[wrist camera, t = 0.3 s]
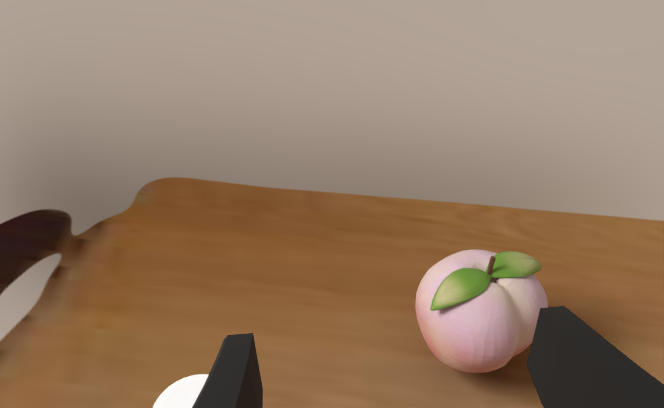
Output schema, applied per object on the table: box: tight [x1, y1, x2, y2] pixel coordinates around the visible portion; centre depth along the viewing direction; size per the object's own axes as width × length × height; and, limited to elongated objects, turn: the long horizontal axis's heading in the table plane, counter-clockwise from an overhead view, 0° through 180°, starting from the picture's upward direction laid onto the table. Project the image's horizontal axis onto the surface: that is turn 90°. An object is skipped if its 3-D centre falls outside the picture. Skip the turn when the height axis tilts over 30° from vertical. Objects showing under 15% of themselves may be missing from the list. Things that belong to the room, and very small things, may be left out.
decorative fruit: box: [416, 250, 548, 373], centre depth 35 cm, size 9×8×10 cm
